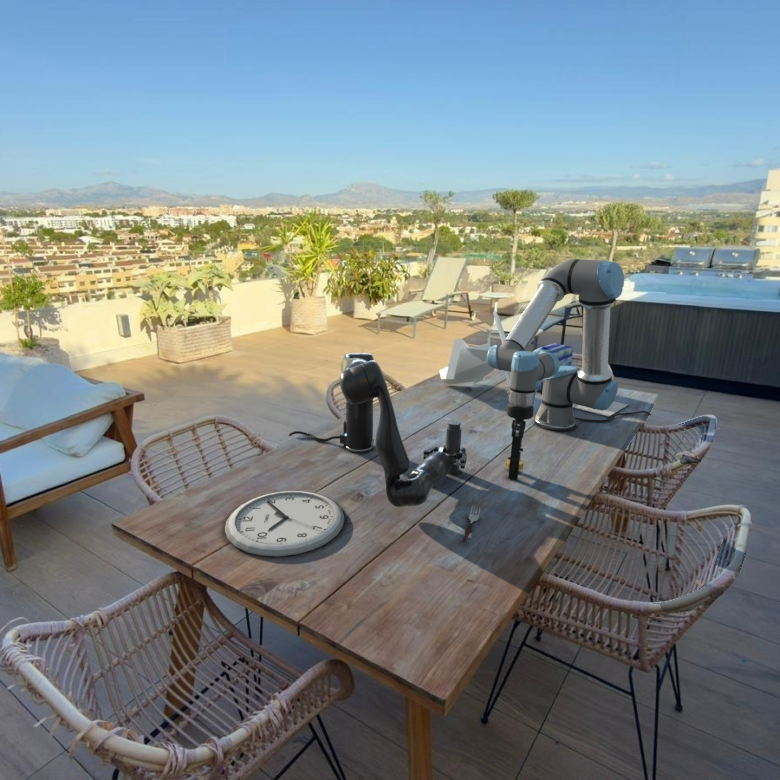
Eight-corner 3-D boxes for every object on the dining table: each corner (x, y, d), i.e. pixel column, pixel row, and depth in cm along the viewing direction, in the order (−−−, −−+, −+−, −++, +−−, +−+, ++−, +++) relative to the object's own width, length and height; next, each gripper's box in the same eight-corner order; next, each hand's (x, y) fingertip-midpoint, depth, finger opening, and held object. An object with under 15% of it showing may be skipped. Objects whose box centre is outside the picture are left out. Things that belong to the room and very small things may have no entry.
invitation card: (608, 416, 214) (573, 407, 224) (608, 416, 214) (573, 408, 224) (628, 404, 229) (594, 396, 238) (628, 405, 229) (594, 397, 238)
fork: (457, 543, 126) (458, 536, 126) (471, 511, 141) (471, 504, 140) (468, 545, 125) (468, 538, 125) (480, 513, 140) (481, 506, 139)
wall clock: (344, 547, 121) (211, 552, 118) (344, 554, 121) (212, 558, 119) (344, 486, 149) (237, 489, 147) (344, 491, 150) (237, 494, 147)
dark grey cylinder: (452, 475, 161) (454, 426, 157) (441, 470, 165) (444, 422, 160) (461, 471, 164) (464, 423, 159) (451, 466, 167) (454, 419, 163)
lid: (524, 466, 162) (525, 460, 162) (519, 472, 158) (520, 466, 158) (508, 462, 165) (509, 456, 164) (503, 468, 161) (504, 462, 160)
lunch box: (544, 395, 239) (549, 351, 233) (524, 390, 247) (528, 347, 240) (571, 384, 257) (577, 343, 251) (552, 380, 264) (556, 339, 258)
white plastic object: (461, 429, 252) (437, 405, 227) (444, 352, 274) (420, 323, 250) (535, 404, 240) (518, 377, 215) (510, 326, 262) (492, 293, 237)
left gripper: (457, 462, 146) (478, 442, 160) (411, 451, 153) (435, 432, 167) (455, 486, 148) (476, 464, 163) (410, 474, 155) (434, 454, 169)
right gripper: (510, 393, 165) (504, 461, 172) (505, 411, 148) (498, 485, 155) (535, 396, 163) (527, 464, 169) (532, 414, 146) (524, 489, 153)
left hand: (455, 448), depth 165 cm, fingers closed on dark grey cylinder, 4 cm apart
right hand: (513, 474), depth 162 cm, fingers closed on lid, 5 cm apart
